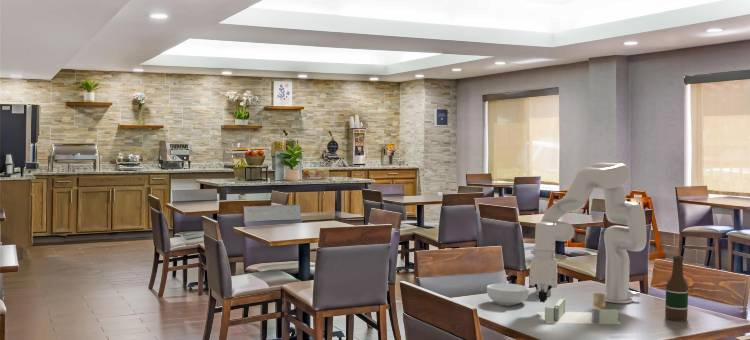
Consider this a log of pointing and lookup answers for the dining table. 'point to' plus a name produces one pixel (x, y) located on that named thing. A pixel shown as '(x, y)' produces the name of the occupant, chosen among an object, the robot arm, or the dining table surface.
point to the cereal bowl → (507, 293)
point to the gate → (561, 306)
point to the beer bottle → (677, 293)
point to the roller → (598, 301)
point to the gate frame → (581, 316)
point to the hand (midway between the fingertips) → (542, 301)
